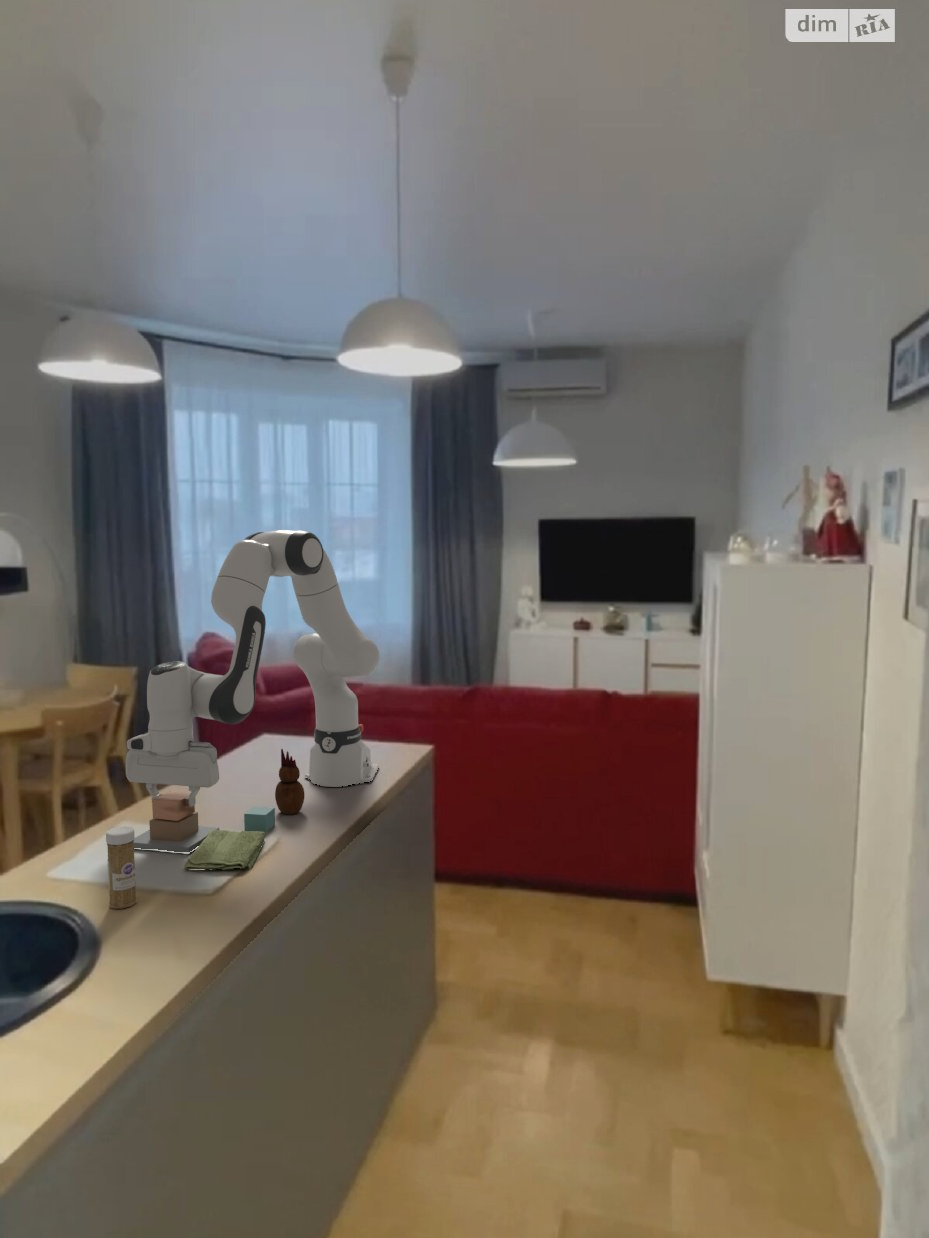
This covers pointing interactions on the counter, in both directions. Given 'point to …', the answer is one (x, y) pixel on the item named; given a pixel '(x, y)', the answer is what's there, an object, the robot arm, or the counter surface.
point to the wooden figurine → (289, 787)
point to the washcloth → (227, 850)
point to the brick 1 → (171, 806)
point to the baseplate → (173, 845)
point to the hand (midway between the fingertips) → (173, 804)
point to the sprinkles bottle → (121, 867)
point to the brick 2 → (259, 819)
